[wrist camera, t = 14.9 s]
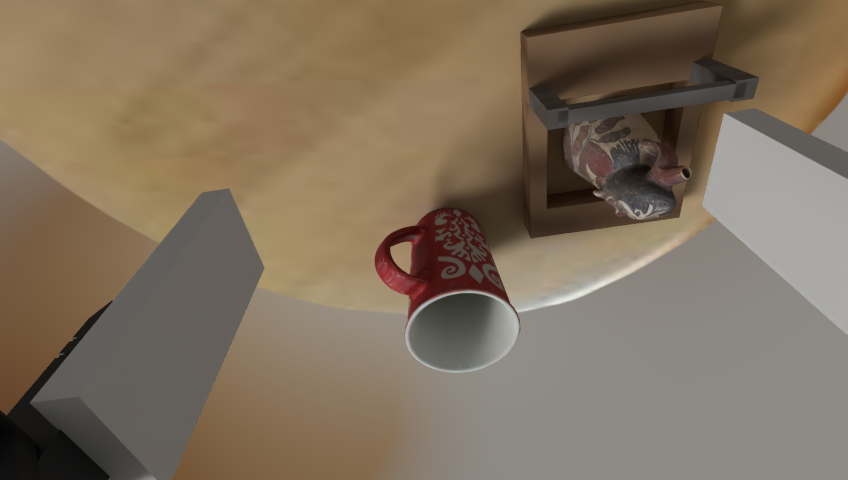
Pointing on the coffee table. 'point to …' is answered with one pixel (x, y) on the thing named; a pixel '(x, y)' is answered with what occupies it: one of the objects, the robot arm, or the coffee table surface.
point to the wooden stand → (613, 71)
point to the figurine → (625, 164)
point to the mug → (451, 293)
